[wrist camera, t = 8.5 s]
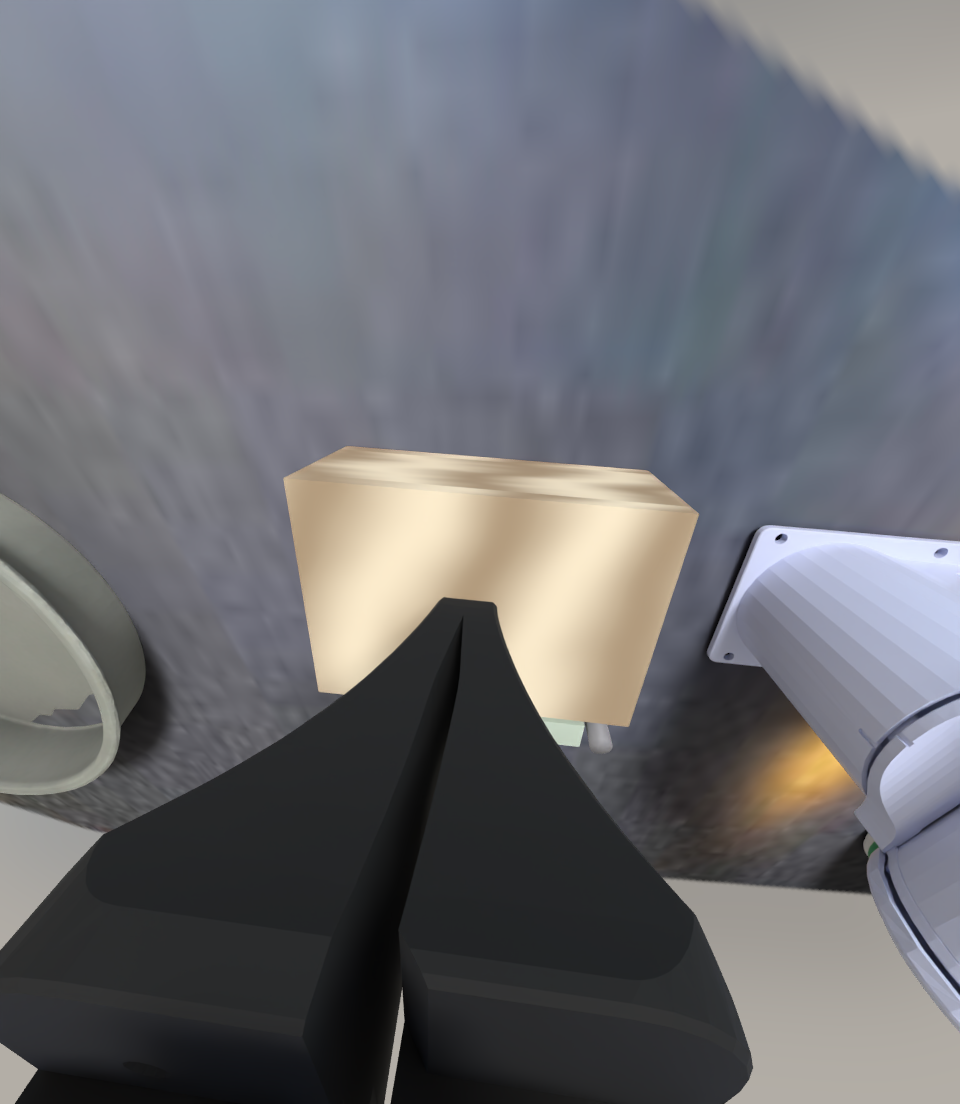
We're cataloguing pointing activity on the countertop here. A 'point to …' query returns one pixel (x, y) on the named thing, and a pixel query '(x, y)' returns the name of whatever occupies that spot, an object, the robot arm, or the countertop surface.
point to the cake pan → (58, 659)
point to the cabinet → (491, 566)
